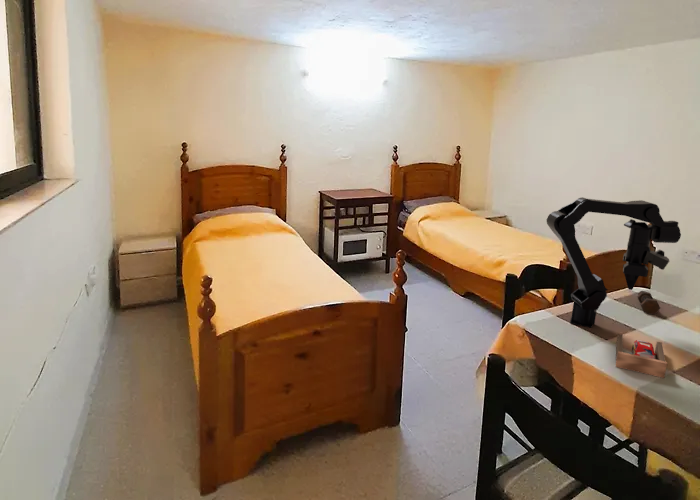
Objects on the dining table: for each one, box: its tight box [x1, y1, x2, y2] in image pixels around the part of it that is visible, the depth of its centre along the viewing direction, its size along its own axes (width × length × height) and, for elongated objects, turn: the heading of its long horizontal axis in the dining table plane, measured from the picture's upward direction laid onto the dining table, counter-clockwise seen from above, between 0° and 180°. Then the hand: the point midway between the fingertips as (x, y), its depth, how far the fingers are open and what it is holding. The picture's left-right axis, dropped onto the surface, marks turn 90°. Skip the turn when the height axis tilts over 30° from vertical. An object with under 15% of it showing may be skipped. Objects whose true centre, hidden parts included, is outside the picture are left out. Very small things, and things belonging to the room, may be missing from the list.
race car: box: [631, 339, 657, 359], centre depth 128 cm, size 13×5×4 cm, turn 150°
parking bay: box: [615, 333, 668, 379], centre depth 127 cm, size 11×16×4 cm
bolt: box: [636, 290, 661, 315], centre depth 166 cm, size 6×5×15 cm
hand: (630, 289), depth 147 cm, fingers closed
